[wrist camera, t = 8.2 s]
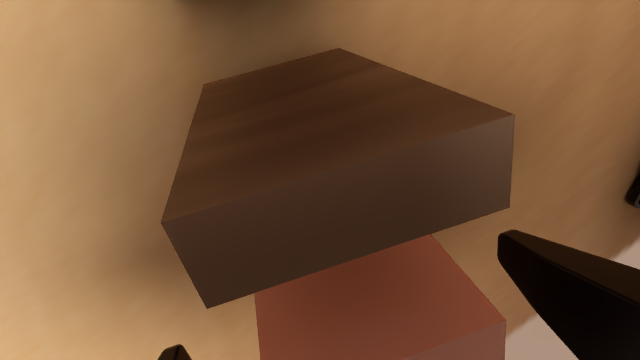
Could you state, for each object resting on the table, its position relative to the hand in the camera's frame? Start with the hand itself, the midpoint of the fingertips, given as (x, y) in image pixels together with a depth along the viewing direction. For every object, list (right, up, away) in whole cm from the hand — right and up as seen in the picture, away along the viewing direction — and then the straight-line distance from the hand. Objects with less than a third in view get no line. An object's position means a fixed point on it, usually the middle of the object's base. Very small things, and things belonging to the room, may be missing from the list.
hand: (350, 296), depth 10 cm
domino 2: (-1, +3, +6) cm, 6 cm away
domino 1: (-2, +7, +3) cm, 8 cm away
